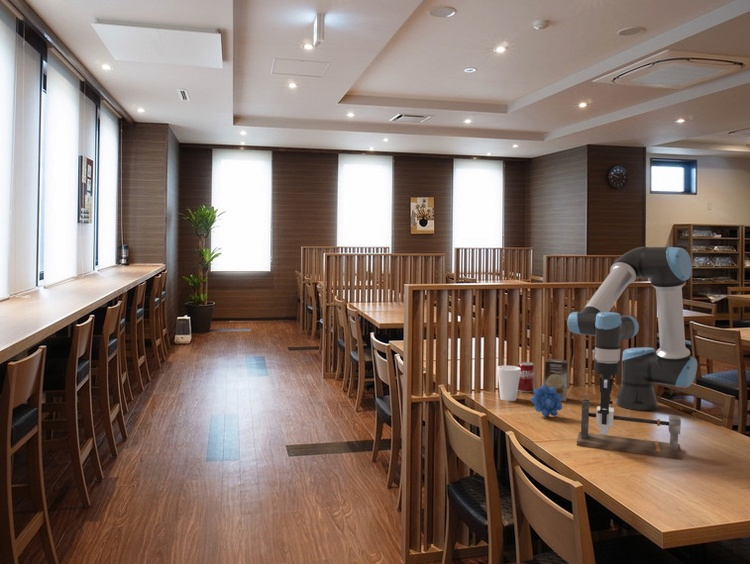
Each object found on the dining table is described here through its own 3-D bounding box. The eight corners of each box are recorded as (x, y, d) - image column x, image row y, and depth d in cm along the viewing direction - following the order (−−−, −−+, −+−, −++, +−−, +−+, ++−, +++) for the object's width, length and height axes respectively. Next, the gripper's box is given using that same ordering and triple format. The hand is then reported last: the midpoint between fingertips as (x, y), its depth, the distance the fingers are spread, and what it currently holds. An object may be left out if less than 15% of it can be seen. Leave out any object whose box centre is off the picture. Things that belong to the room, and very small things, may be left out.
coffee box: (543, 399, 248) (544, 361, 247) (544, 395, 254) (545, 358, 253) (566, 401, 245) (567, 362, 244) (566, 397, 251) (568, 359, 250)
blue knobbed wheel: (534, 420, 219) (535, 387, 218) (529, 414, 226) (529, 383, 225) (565, 420, 219) (566, 387, 218) (559, 414, 226) (560, 383, 225)
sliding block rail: (576, 445, 192) (578, 403, 191) (579, 436, 201) (580, 396, 200) (681, 459, 180) (683, 415, 179) (679, 448, 189) (681, 406, 188)
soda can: (534, 393, 258) (535, 365, 258) (517, 392, 260) (517, 364, 259) (533, 389, 266) (534, 362, 265) (516, 388, 267) (517, 361, 266)
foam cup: (494, 396, 253) (494, 365, 252) (515, 395, 253) (516, 365, 253) (500, 402, 243) (501, 370, 242) (522, 401, 244) (523, 370, 243)
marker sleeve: (596, 425, 192) (596, 409, 191) (596, 421, 196) (597, 406, 196) (612, 427, 190) (613, 411, 189) (613, 423, 194) (613, 407, 194)
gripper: (596, 353, 204) (594, 417, 205) (592, 366, 182) (589, 437, 184) (620, 355, 201) (617, 420, 202) (618, 368, 179) (616, 441, 181)
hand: (604, 428), depth 193 cm, fingers open, 11 cm apart
